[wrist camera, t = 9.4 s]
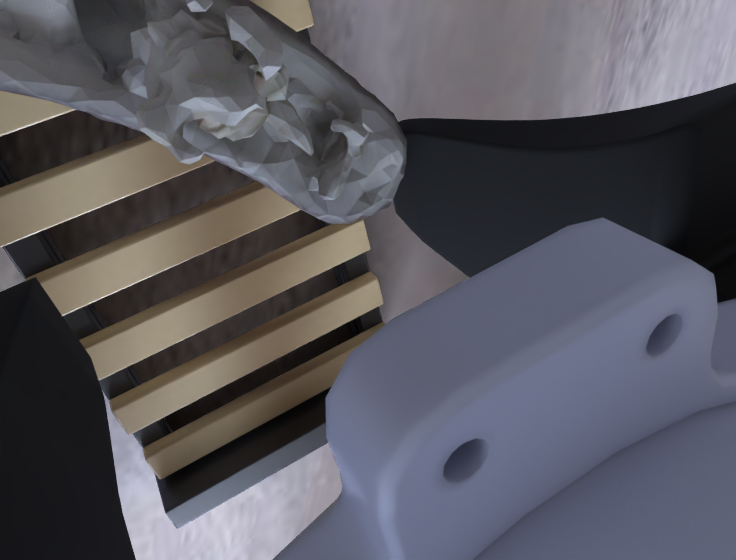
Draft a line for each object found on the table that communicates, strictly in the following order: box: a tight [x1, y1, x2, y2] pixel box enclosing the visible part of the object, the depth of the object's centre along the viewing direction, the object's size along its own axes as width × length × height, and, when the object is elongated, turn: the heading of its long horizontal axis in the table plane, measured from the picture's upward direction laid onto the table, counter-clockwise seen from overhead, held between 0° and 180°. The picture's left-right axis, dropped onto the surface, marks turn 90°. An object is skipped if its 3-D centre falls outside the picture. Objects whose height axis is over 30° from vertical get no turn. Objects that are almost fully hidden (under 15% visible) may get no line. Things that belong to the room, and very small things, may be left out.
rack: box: [0, 0, 385, 529], centre depth 19 cm, size 11×24×4 cm, turn 13°
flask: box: [0, 0, 407, 224], centre depth 11 cm, size 9×3×11 cm, turn 60°
